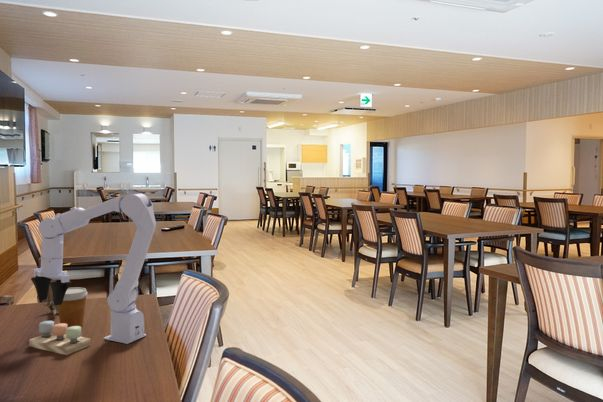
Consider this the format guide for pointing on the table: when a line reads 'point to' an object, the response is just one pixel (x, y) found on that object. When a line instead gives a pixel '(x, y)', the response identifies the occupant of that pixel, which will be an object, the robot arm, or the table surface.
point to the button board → (59, 344)
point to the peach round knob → (59, 331)
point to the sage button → (73, 333)
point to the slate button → (46, 328)
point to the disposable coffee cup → (73, 307)
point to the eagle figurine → (51, 307)
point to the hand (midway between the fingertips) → (50, 302)
